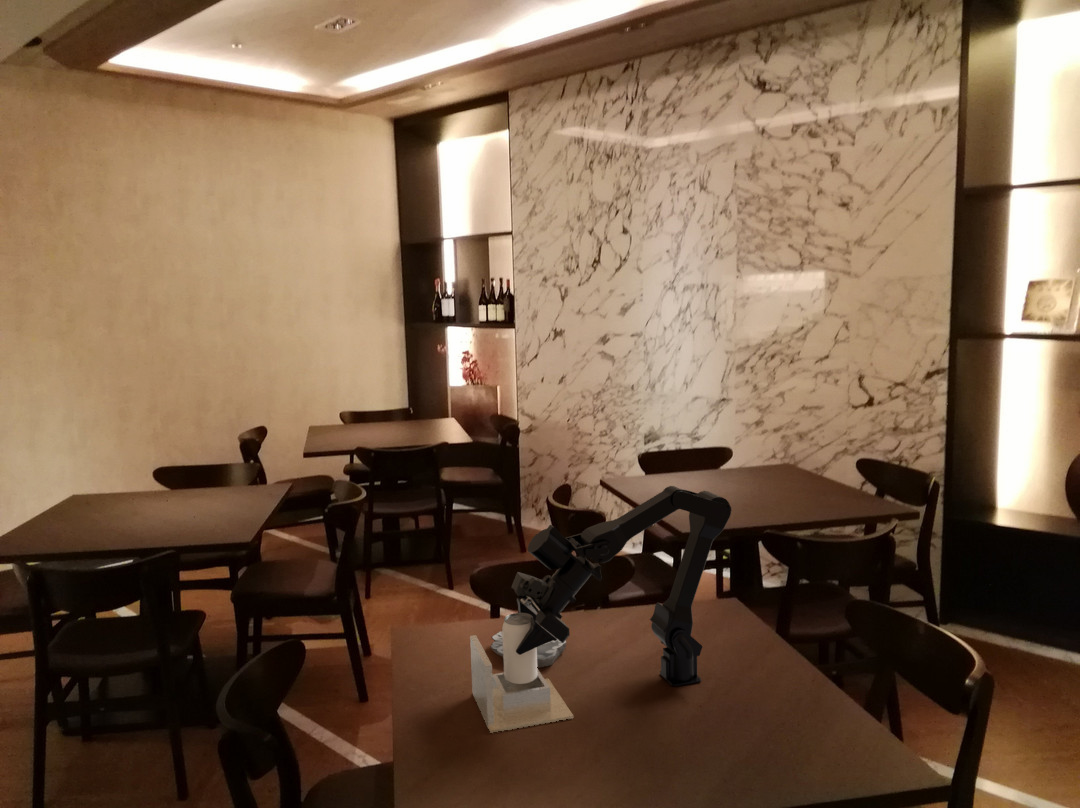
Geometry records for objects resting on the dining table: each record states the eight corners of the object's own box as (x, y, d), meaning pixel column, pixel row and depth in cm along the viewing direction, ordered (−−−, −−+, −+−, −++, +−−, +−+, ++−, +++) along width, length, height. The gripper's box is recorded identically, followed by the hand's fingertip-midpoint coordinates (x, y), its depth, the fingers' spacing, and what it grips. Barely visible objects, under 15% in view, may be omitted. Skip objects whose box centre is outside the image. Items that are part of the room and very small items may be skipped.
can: (519, 689, 150) (517, 628, 149) (497, 677, 155) (494, 619, 153) (544, 677, 155) (542, 617, 153) (522, 666, 159) (519, 609, 158)
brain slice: (495, 635, 190) (494, 623, 189) (567, 634, 189) (566, 622, 188) (486, 673, 170) (486, 660, 170) (566, 672, 169) (565, 659, 169)
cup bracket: (548, 681, 165) (546, 622, 164) (573, 718, 150) (571, 654, 148) (471, 693, 161) (469, 634, 159) (489, 733, 145) (486, 668, 144)
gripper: (523, 545, 162) (472, 605, 160) (550, 573, 144) (493, 641, 142) (561, 577, 165) (512, 636, 163) (593, 609, 147) (538, 676, 145)
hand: (513, 646), depth 153 cm, fingers closed on can, 6 cm apart
